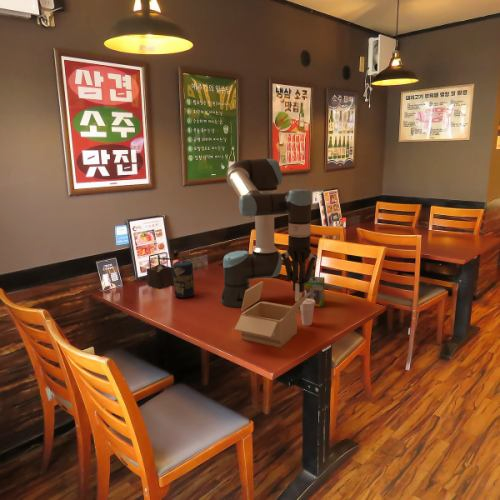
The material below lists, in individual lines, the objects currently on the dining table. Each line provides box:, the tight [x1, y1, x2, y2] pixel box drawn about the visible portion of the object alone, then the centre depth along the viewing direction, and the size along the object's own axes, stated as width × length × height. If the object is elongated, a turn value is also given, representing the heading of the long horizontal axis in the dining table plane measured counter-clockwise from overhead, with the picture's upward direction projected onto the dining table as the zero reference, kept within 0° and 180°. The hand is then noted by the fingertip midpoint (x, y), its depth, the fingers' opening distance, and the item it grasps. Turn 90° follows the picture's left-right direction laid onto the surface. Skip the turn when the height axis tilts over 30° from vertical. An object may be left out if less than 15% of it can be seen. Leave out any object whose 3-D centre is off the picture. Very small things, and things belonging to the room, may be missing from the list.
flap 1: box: [240, 280, 264, 312], centre depth 160 cm, size 8×13×1 cm
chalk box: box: [303, 270, 325, 308], centre depth 191 cm, size 9×9×15 cm
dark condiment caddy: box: [146, 250, 180, 290], centre depth 227 cm, size 16×11×18 cm
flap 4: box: [283, 292, 311, 319], centre depth 151 cm, size 8×13×1 cm
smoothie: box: [299, 290, 315, 326], centre depth 169 cm, size 6×6×14 cm
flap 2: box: [234, 314, 277, 337], centre depth 149 cm, size 15×6×1 cm
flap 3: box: [261, 301, 301, 313], centre depth 167 cm, size 15×6×1 cm
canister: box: [172, 260, 195, 299], centre depth 206 cm, size 10×10×18 cm
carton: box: [240, 301, 298, 349], centre depth 159 cm, size 16×14×10 cm
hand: (298, 300), depth 150 cm, fingers closed
